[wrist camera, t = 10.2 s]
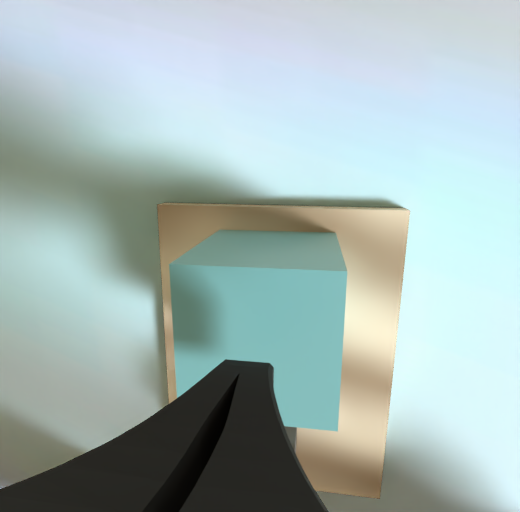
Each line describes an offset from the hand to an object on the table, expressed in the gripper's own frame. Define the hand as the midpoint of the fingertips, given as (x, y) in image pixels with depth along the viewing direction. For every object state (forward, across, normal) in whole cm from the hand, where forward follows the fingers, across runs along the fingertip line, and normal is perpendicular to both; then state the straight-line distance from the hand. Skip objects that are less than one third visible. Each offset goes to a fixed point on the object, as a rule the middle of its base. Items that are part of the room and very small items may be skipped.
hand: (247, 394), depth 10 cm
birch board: (+10, 0, +4) cm, 11 cm away
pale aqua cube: (+9, 0, 0) cm, 9 cm away
